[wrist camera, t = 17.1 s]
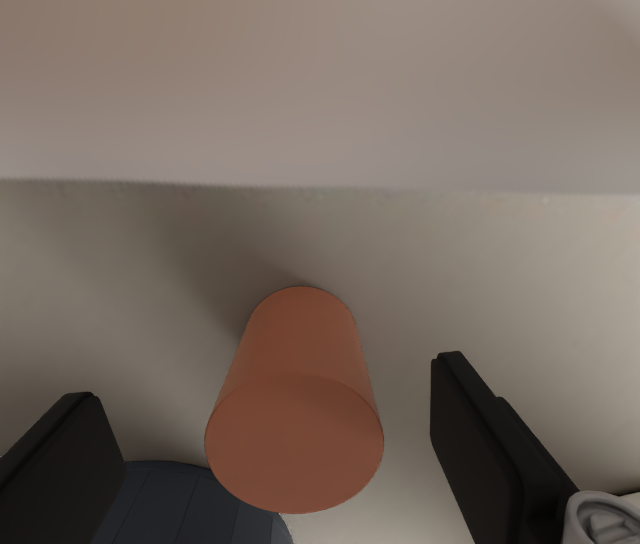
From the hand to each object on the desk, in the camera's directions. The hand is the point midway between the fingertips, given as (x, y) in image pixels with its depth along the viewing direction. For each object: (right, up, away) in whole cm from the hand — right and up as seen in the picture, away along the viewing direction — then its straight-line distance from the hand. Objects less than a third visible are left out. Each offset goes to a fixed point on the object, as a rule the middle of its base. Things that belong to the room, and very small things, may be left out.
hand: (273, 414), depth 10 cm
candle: (+1, +1, +5) cm, 5 cm away
